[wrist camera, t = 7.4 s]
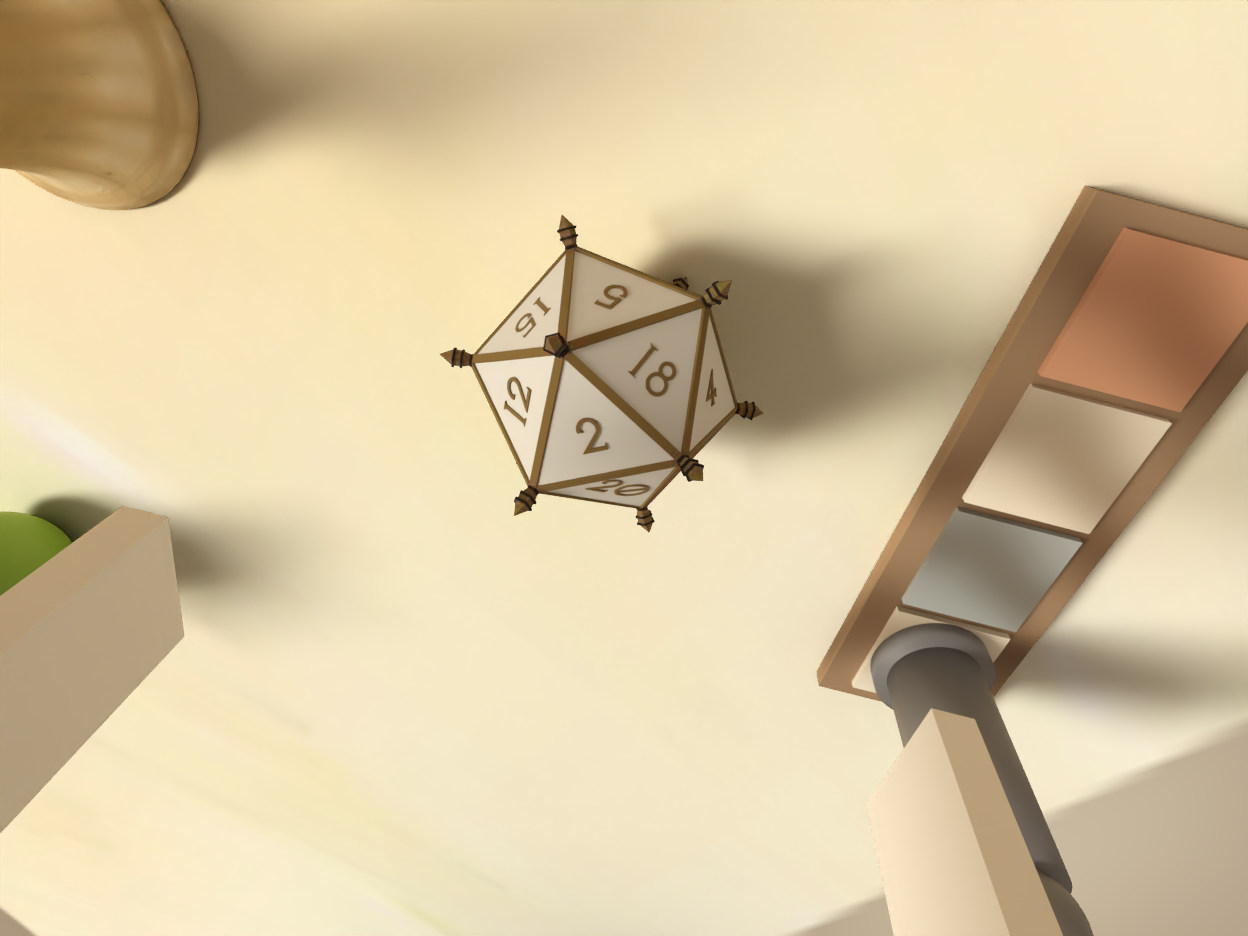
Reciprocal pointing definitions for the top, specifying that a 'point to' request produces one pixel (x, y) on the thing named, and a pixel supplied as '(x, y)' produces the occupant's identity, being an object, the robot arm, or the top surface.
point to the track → (1062, 432)
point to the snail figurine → (26, 546)
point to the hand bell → (96, 99)
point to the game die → (606, 381)
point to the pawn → (960, 684)
